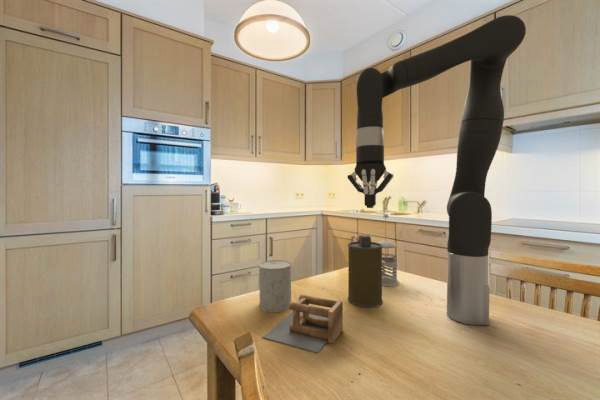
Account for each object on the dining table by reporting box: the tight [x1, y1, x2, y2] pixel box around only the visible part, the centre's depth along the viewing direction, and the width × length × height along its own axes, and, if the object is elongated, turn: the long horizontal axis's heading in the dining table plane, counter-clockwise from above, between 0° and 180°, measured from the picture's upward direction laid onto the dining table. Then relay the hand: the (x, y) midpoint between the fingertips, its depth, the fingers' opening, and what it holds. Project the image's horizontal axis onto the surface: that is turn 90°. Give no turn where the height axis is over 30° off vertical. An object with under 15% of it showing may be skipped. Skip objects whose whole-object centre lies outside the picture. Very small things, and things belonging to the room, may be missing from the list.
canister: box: [347, 234, 384, 308], centre depth 85 cm, size 11×10×20 cm
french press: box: [376, 213, 400, 287], centre depth 102 cm, size 10×12×25 cm
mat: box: [262, 311, 328, 354], centre depth 68 cm, size 14×16×1 cm
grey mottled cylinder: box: [258, 259, 292, 313], centre depth 82 cm, size 10×10×12 cm
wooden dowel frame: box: [288, 294, 344, 344], centre depth 67 cm, size 7×7×11 cm
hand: (370, 207), depth 78 cm, fingers closed
